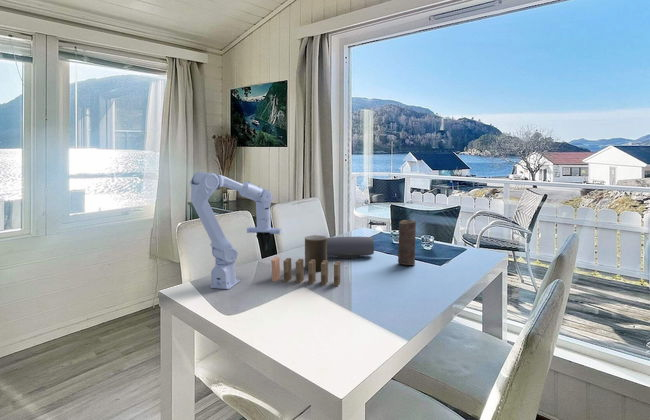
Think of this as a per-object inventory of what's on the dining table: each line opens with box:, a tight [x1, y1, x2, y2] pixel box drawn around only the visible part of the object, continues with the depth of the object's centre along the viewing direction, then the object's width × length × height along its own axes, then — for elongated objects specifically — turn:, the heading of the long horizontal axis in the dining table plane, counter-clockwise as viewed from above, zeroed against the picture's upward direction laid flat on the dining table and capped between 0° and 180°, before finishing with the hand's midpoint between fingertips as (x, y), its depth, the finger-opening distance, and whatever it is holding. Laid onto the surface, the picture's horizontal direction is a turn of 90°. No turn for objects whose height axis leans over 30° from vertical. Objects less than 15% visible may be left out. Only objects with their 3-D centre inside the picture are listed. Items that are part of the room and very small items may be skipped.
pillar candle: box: [304, 234, 328, 272], centre depth 162 cm, size 10×10×15 cm
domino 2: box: [283, 257, 293, 283], centre depth 148 cm, size 5×2×8 cm, turn 166°
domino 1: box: [270, 256, 281, 282], centre depth 150 cm, size 5×2×8 cm, turn 166°
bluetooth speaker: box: [327, 236, 375, 259], centre depth 178 cm, size 23×9×10 cm, turn 92°
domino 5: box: [320, 259, 329, 286], centre depth 145 cm, size 5×2×8 cm, turn 166°
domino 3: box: [295, 258, 304, 284], centre depth 147 cm, size 5×2×8 cm, turn 166°
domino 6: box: [333, 260, 341, 287], centre depth 144 cm, size 5×2×8 cm, turn 166°
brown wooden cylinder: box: [397, 219, 417, 266], centre depth 165 cm, size 8×7×20 cm
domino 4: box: [307, 259, 317, 285], centre depth 146 cm, size 5×2×8 cm, turn 166°
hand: (264, 250), depth 156 cm, fingers closed
